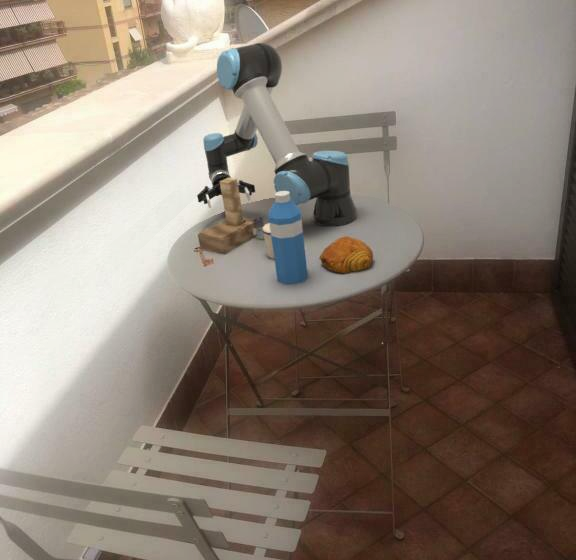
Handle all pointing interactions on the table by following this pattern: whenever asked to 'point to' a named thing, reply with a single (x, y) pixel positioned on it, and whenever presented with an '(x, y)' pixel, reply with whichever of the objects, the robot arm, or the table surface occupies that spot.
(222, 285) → the table surface
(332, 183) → the robot arm
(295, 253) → the water bottle
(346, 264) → the croissant
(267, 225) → the teacup with lid
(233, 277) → the table surface
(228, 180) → the wooden key peg
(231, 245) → the wooden sliding lid box
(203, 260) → the key
